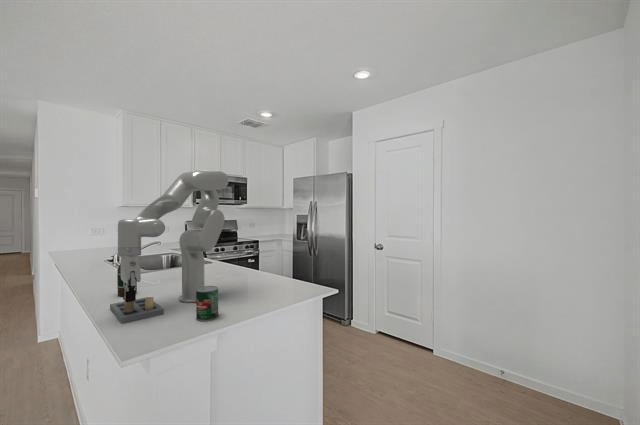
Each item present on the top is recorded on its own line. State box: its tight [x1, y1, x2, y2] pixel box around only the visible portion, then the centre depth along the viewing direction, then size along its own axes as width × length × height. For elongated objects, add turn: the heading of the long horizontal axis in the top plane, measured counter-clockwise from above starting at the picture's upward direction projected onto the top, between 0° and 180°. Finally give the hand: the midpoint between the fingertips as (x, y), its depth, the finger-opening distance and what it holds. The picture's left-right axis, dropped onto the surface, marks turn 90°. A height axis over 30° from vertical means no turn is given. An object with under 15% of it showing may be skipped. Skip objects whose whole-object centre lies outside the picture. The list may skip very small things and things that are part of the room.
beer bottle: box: [116, 263, 138, 298], centre depth 142 cm, size 8×8×24 cm
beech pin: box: [123, 284, 134, 312], centre depth 112 cm, size 3×3×10 cm
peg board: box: [109, 296, 165, 325], centre depth 119 cm, size 22×14×6 cm, turn 44°
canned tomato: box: [195, 285, 219, 322], centre depth 113 cm, size 8×8×11 cm
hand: (129, 299), depth 112 cm, fingers closed on beech pin, 3 cm apart
